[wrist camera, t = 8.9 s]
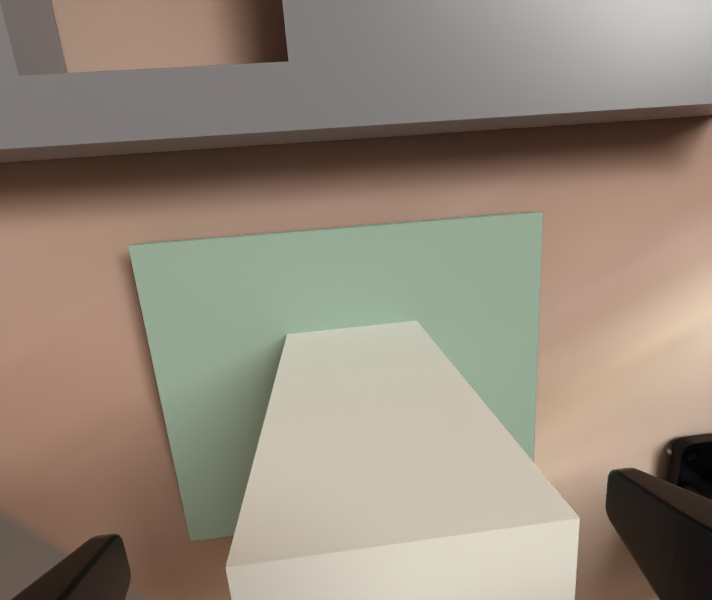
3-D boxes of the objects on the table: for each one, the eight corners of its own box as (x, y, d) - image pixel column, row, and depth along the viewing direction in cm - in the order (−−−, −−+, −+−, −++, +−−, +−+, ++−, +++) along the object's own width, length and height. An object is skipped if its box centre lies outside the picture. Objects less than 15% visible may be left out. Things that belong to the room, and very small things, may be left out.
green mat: (529, 211, 13) (542, 212, 12) (521, 482, 15) (532, 497, 14) (140, 242, 12) (128, 245, 11) (197, 523, 14) (190, 541, 13)
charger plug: (416, 320, 12) (580, 518, 5) (422, 435, 13) (564, 760, 6) (287, 334, 12) (225, 567, 4) (301, 449, 13) (274, 811, 5)
